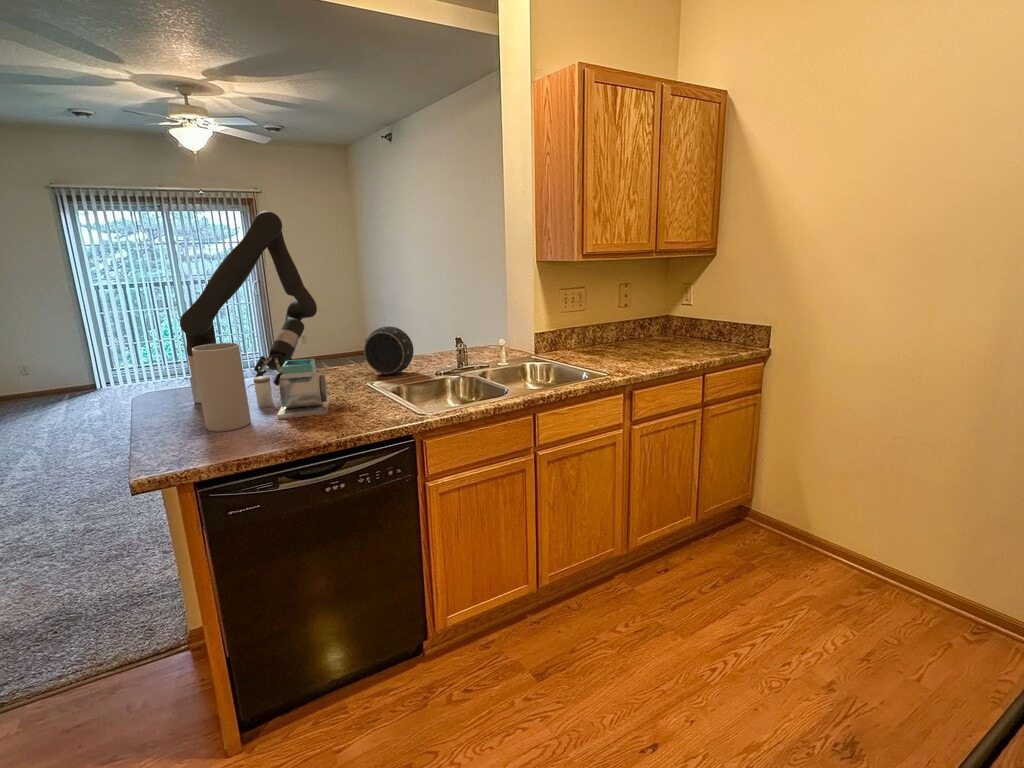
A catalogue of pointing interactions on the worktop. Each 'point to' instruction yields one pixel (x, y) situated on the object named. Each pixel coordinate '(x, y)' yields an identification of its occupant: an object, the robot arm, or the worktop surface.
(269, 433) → the worktop surface
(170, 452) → the worktop surface
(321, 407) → the motor
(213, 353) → the cylinder vase
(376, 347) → the black wheel
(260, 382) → the jar with metallic lid
